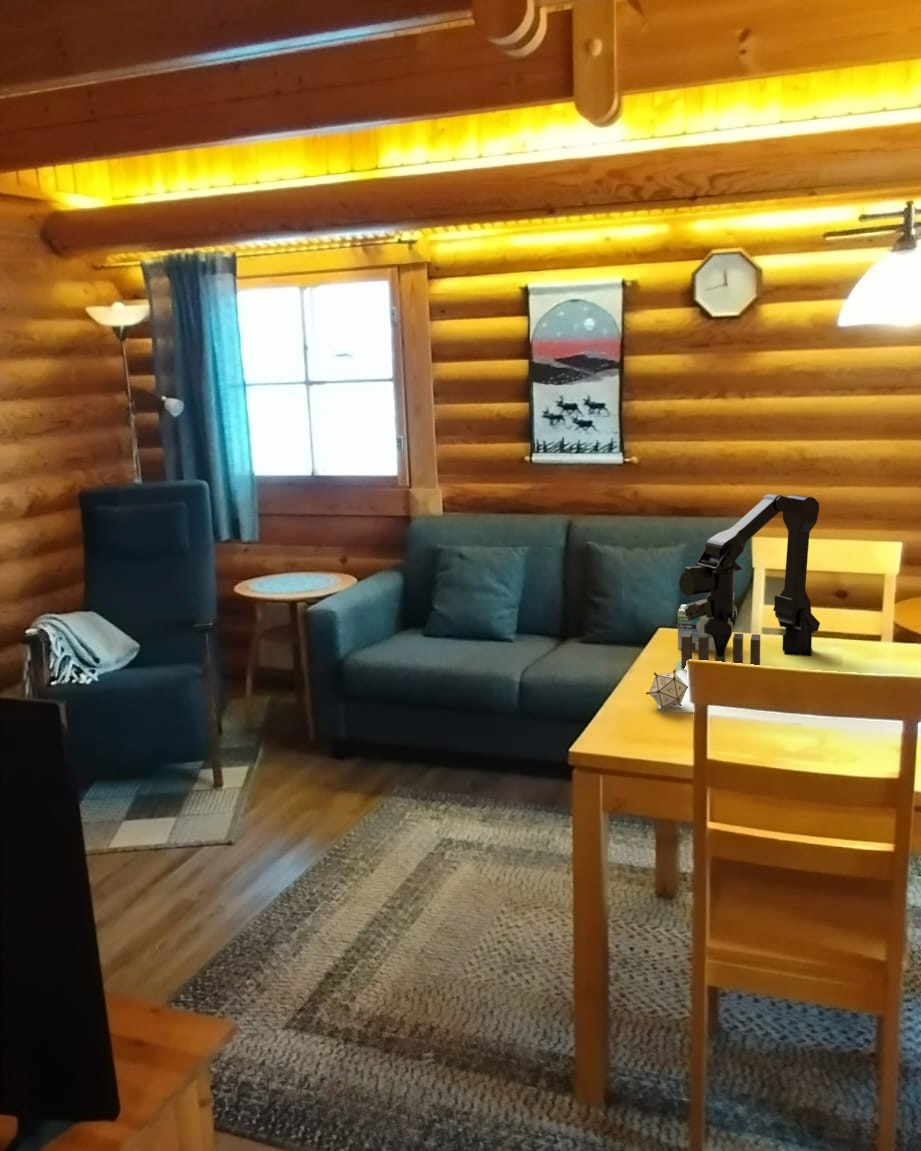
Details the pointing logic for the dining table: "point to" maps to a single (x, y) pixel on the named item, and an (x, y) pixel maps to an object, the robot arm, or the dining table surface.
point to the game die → (668, 690)
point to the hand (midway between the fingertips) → (720, 653)
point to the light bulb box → (692, 629)
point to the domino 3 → (720, 657)
